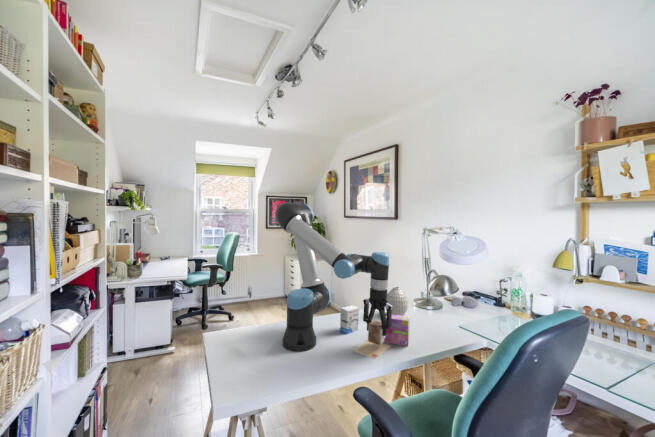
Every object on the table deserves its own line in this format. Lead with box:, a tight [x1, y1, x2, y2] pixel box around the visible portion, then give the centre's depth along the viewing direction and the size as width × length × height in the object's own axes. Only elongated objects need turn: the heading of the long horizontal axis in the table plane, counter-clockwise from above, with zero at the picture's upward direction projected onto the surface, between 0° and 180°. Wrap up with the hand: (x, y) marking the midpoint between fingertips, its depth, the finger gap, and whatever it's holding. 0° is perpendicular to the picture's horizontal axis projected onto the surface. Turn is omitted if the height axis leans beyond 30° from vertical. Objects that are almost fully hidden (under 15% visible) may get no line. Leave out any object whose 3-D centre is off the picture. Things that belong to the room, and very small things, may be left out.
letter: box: [352, 339, 391, 360], centre depth 131 cm, size 11×15×1 cm
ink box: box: [339, 304, 360, 335], centre depth 150 cm, size 9×5×12 cm, turn 131°
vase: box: [385, 286, 409, 316], centre depth 171 cm, size 13×13×17 cm
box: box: [384, 315, 411, 347], centre depth 138 cm, size 10×6×12 cm, turn 70°
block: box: [367, 319, 382, 345], centre depth 132 cm, size 5×5×8 cm
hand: (375, 340), depth 132 cm, fingers closed on block, 5 cm apart
